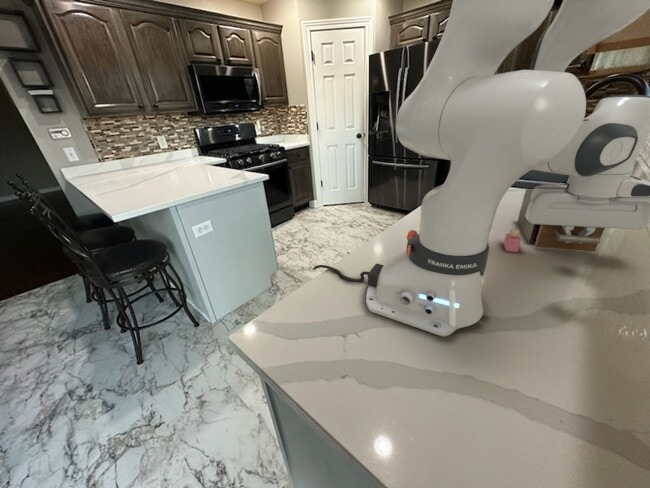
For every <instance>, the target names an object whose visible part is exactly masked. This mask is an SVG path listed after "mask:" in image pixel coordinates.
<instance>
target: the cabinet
mask: <svg viewBox="0 0 650 488" xmlns="http://www.w3.org/2000/svg"><path fill="white" fill-rule="evenodd" d="M533 189H534V188H526V189H525V191H524V195H523V199H522V202H521V205H520V206H521V207H520V210H519V213H518V217H517V221H516V222H517V225H518V226H519V228H520V230H521V232H522V234H523V235H524V237H525V239H526V242H527V243H528V244H530V245H535V242H536V239H535V237H534V236H535V233H536V230H537V226H538V224H531V223H530V222H529V221H528V220H527V219H526V217H525V214H526V211H527V208H528V206H529V204H530V201H531V200H530V196H531V192H532V190H533Z"/></svg>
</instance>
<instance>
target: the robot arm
mask: <svg viewBox="0 0 650 488" xmlns="http://www.w3.org/2000/svg"><path fill="white" fill-rule="evenodd" d="M554 3H555V0H452V4H451V8H450V12H449V16H448V19H447V23H446V26H445V28H444V31H443V34H442V36H441V39H440V41H439V44H438V46H437V48H436V50H435V53H434V55H433V57H432V59H431V61H430V63H429V65H428V67H427V69H426V71H425V73H424V75H423V76H422V78H421V80H420V81H419V83H418V84H417V86H416V88H415V89H414V90H413V91H412V92H411V93H410V95H408V96H407V97H406V99H405V100H404V101H403V102H402V104H401V106H400V107H399V109H398V112H397V115H396V120H395V131H396V132H395V133H396V136H397V139H398V141H399V142H400V144H401V145H402V146H403V147H404V148H406V149H408V150H410V151H411V152H413V153H415V154H418V155H420V156H423V157H425V158H433V159H439V160H446V161H450V167H449V171H448V174H447V177H446V179H445V181H444V183H442V184H440V185H437V186H435V187H434V188H432V189H430V190H429V191H428V192H427V193H426V194H425V195H424V196H423V199H422V201H421V205H420V206H421V207H420V219H419V230H418V231H419V233H418V232H417V230H415V229H410V230H409V231H408V232H407V236H406V240H407V243H406V251H403V252H402V253H400V254H398V255H395V256H393V257H391V258H389V259H388V260H386V261H385V263H384V264H381V263H378V262H377V263H375V264H374V265H373V267H372V268H371V269H370V271H362V272H360V275H359V276H360V278H352V277H349V276H346V275H344V274H343V273H342V272H341V271H340V270H338V269H336V268H335V267H332V266H329V265H325V264H318V265H314V267H313V268H312V269H313V270H317V269H319V268H320V269H321V268H323V269H327V270H330V271H333V272H334V273H337V274H338V276H339V277H340V278H342V279H343V280H346V281H349V282H351V283H352V282H353V283H361V282H363V281H364V280H365V276H366V275H367V285H368V287H367V290H366V296H365V297H366V298H365V303H366V307H367V309H368V310H369V312H371V313H374V314H376V315H379V316H382V317H384V318H388V319H391V320H394V321H396V322H400V323H402V324H405V325H408V326H410V327H413V328H416V329H419V330H422V331H426V332H428V333H431V334H434V335H437V336H439V337H448V336H450V335H452V334H453V333H454V332H456V331H457V330H459V329H463V328H466V327H470V326H473V325H475V324H476V323H478V322H479V321H480V320H481V318H482V317H483V314H484V305H483V299H482V280H483V279H482V278H483V276H484V275H485V272H486V270H487V266H488V262H489V257H490V245H489V244H490V243H489V239H490V234H491V231H492V227H493V223H494V220H495V216H496V214H497V210H498V208H499V205H500V204H501V203H500V202H501V201H502V200H503V198H504V196H505V195H506V193H507V192H508V190H509V189H511V187H512V186H513V185H514V184H515V183H516V182H517V181H518V180H519V179H520V178H521V177H523V176H524V175H525V174H527V173H529V172H530V171H538V172H544V173H549V174H555V175H564V176H568V178H567V180H566V182H564V183H563V182H562V183H561V182H560V183H559V182H558V183H547V182H545V183H541V184H540V185H537V186H535V187H534V188H532V189H533V190H532V192H531V196H530V200H531V201H530V204H529V206H528V208H527V211H526V214H525V217H526V219H527V220H528V221H529V222H530V223H531V224H543V225H562V227H563V230H564V232H565V235H575V236H589V235H590V234H592V233H593V232H594V231H595V229H596V227H599V228H605V229H617V230H619V229H620V230H638V231H639V230H642V229H645V228H646V227H648V226H649V225H650V181H649V180H646V179H644V178H641V177H637V176H634V175H633V172H634V169H635V168H634V167H635V160H636V158H637V156H638V154H639V153H640V152H641V151H642V150H643V148H644V147H645V145H646V142H647V140H648V137H649V135H650V95H645V94H644V95H643V94H618V95H610V96H607V97H604V98H601V99H600V100H599V101H598V102H597V103H596V105H595V107H594V109H593V111H592V113H591V114H590V115H587V116H586V110H587V96H586V93H585V89H584V86H583V85H582V83H581V81H580V80H579V78H578V77H577V76H576V75H574V74H573V73H570V72H566V69H567V68H568V67H569V65H570V64H572V62H573V60H575V59H576V58H577V57H578V56H579V55H581V54H582V53H583V52H585V51H586V50H588V49H590V48H591V47H593V46H595V45H597V44H599V43H601V42H602V41H604V40H606V39H607V38H609V37H612V36H613V35H616V34H617V33H618V32H620V31H622V30H623V29H625V28H627V27H628V26H629V25H631V24H633V23H634V22H635V21H637V20H638V19H639V18H640V17H642V16H643V15H644V14H645V13H646V12H647V11H648V10H650V0H562V1H561V4H560V7H559V8H558V11H557V13H556V15H555V17H554V19H553V20H552V22H551V24H549V25H548V26H547V28H545V30H544V31H543V32H542V34H541V35H540V37H539V39H538V41H537V44H536V47H535V48H534V52H533V54H532V58H531V61H530V64H529V69H521V70H513V71H507V72H501V73H496V72H497V70H498V69H499V68H500V66H501V64H503V62H504V61H505V59H506V58H507V57H508V55H509V54H510V53H512V51H513V50H514V49H515V48H516V47H517V46H518V45H519V44H521V43H522V42H523V41H525V40H526V39H527V38H528V37H530V36H531V35H532V34H533V33H534V32H535V31H536V30H537V29H538V28H539V27H540V26H541V25H542V24H543V22H544V21H545V20H546V18H547V16H548V15H549V13H550V11H551V9H552V8H553V6H554ZM585 116H586V117H585ZM574 226H581V227H583V228H584V229H583V230H582V231H581V232H580V233H578V234H571V232H570V230H573V229H574ZM564 242H565V243H576V244H582V243H579V242H566V241H564ZM364 275H365V276H364Z"/></svg>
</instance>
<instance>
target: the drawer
mask: <svg viewBox="0 0 650 488" xmlns="http://www.w3.org/2000/svg"><path fill="white" fill-rule="evenodd" d="M583 229H584V228H583V227H581V226H574V229H573V230H570V232H571V234H578V233H580V232H581V231H582V230H583ZM605 229H606V228H599V227H596V229H595V231H594V232H593V233H592V234H590V235H589V236H575V235H565V232H564V230H563V227H562V225H543V224H538V226H537V230H536V233H535V236H534V237H535V239H536V242H535V244H534V246H535V247H536V248H546V249H556V250H557V249H558V250H568V251H569V250H570V251H581V252H593V253H594V252H596V250H597V248H598V245H599V244H600V243H601V240H602V239H601V238H602V236H603V233H604V231H605ZM564 241H566V242H579V243H582V244H576V243H565V242H564Z"/></svg>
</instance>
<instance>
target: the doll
mask: <svg viewBox="0 0 650 488" xmlns="http://www.w3.org/2000/svg"><path fill="white" fill-rule="evenodd" d="M520 234H521V232H520V230H519V229H518V228H511V230H509V232H508V233H505V237H504V240H503V247H504V249H505V251H506V252H515V253H518V252H519V249H520V245H521V242H522V239H521V237H520Z"/></svg>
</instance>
